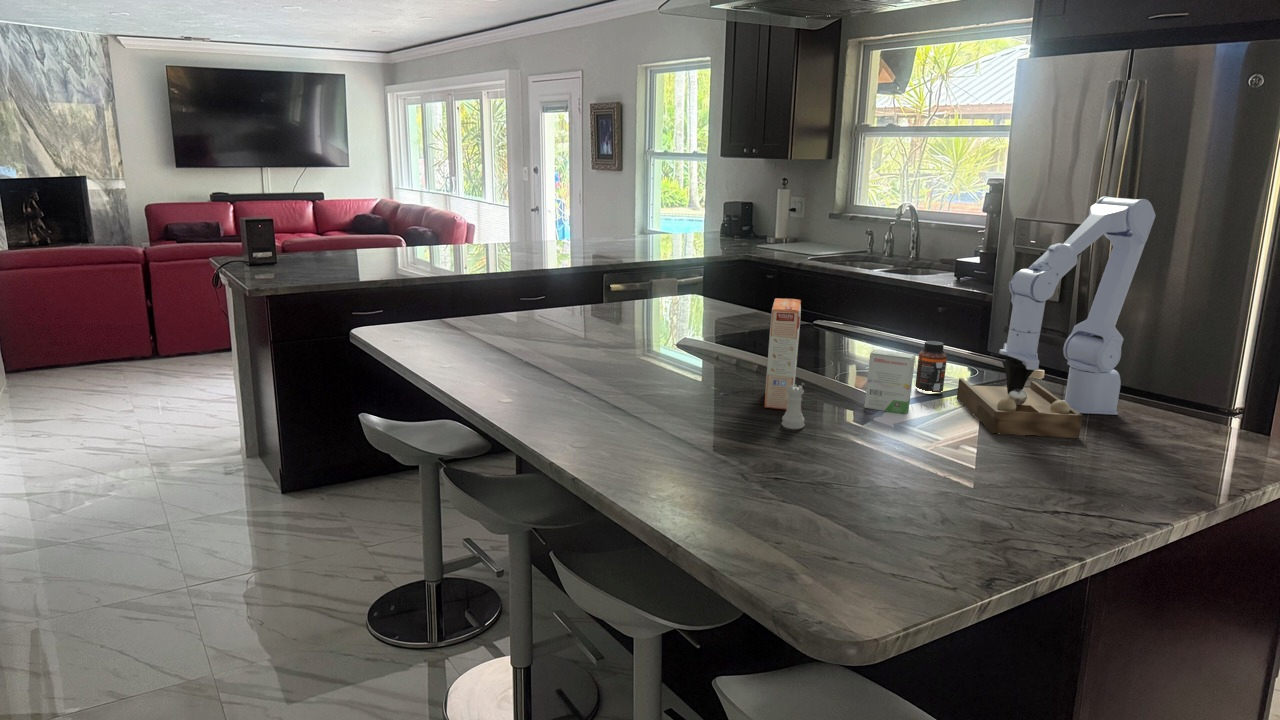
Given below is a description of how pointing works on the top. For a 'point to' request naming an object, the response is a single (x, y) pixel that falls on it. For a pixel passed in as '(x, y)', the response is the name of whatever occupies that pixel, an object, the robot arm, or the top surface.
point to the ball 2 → (1060, 407)
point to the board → (1019, 411)
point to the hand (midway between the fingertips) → (1013, 395)
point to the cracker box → (782, 351)
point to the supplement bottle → (931, 367)
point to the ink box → (889, 381)
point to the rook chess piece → (794, 409)
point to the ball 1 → (1006, 405)
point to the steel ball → (1018, 396)
